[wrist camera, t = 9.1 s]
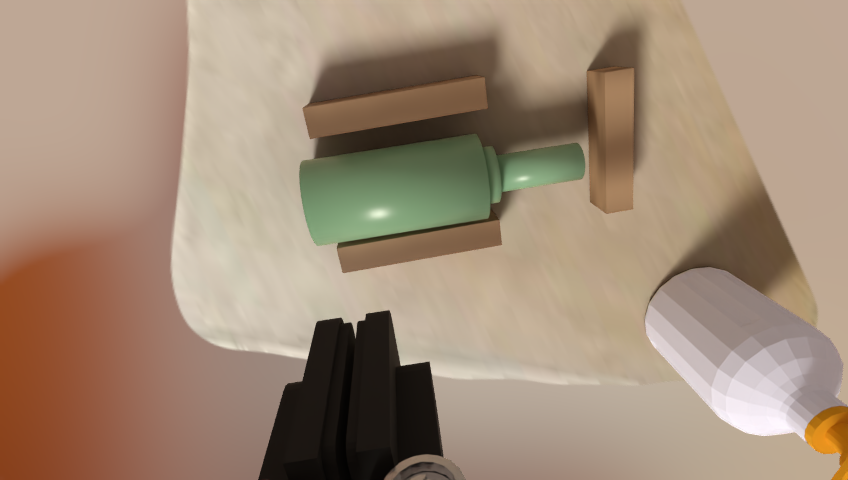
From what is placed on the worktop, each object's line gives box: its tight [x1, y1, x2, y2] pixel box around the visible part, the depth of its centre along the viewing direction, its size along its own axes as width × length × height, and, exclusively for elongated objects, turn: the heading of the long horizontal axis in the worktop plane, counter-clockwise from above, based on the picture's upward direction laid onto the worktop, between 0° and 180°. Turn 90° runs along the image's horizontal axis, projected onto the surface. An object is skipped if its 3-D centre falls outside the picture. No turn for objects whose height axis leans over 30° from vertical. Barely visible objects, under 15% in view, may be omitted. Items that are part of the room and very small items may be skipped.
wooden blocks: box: [303, 66, 634, 273], centre depth 35 cm, size 12×22×3 cm, turn 99°
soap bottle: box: [645, 267, 848, 480], centre depth 32 cm, size 9×9×25 cm
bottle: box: [299, 134, 585, 246], centre depth 34 cm, size 6×6×19 cm
